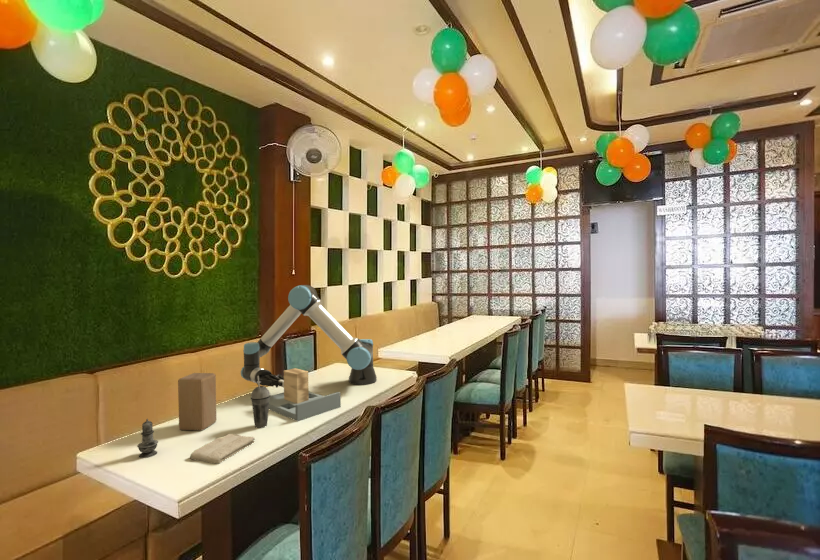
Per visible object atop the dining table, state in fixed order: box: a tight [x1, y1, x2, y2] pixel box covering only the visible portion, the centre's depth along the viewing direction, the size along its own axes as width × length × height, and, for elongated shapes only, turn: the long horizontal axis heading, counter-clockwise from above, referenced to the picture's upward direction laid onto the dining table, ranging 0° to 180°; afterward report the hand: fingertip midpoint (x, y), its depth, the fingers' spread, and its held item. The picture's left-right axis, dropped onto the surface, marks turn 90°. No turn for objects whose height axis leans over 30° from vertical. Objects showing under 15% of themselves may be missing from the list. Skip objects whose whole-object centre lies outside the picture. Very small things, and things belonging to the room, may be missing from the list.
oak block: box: [283, 367, 310, 404], centre depth 183 cm, size 6×10×13 cm, turn 51°
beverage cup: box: [250, 376, 271, 429], centre depth 158 cm, size 7×7×20 cm
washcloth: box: [189, 433, 256, 465], centre depth 137 cm, size 12×18×3 cm, turn 162°
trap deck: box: [268, 391, 342, 422], centre depth 182 cm, size 22×32×6 cm
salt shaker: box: [136, 418, 159, 459], centre depth 135 cm, size 6×6×12 cm
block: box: [177, 372, 218, 431], centre depth 159 cm, size 10×10×20 cm
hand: (287, 385), depth 185 cm, fingers closed
